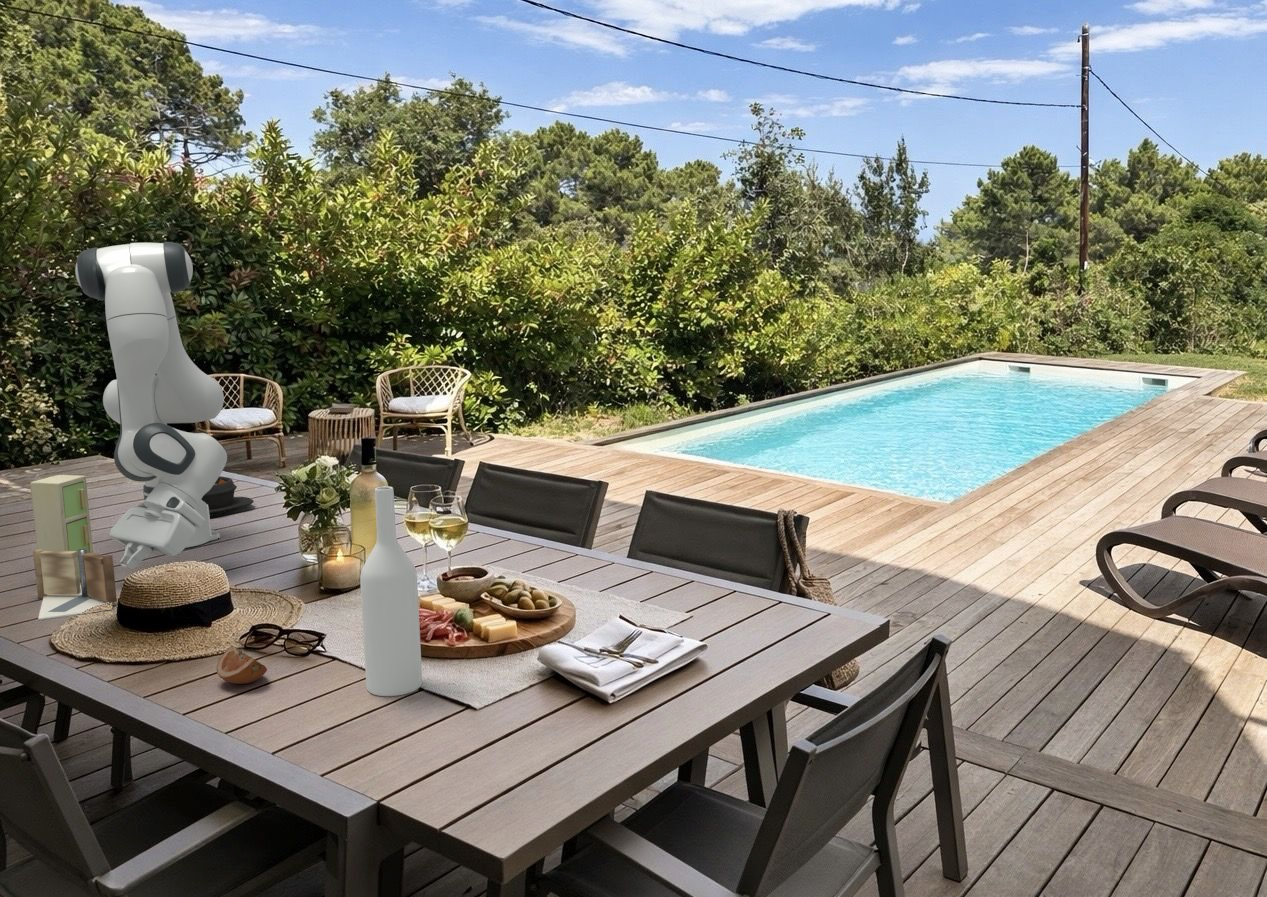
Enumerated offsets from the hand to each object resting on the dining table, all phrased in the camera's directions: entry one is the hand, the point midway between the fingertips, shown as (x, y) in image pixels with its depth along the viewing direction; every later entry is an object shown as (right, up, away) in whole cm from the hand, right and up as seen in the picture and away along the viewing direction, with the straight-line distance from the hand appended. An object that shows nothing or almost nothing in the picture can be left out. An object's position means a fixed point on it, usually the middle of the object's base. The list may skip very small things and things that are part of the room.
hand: (126, 566), depth 200 cm
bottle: (+62, -13, -45) cm, 78 cm away
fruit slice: (+39, -13, -43) cm, 59 cm away
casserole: (-15, +6, +74) cm, 76 cm away
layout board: (-9, -6, 0) cm, 11 cm away
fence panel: (-3, -6, -3) cm, 7 cm away
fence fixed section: (-12, -6, +1) cm, 14 cm away
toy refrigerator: (-18, -4, +13) cm, 23 cm away
